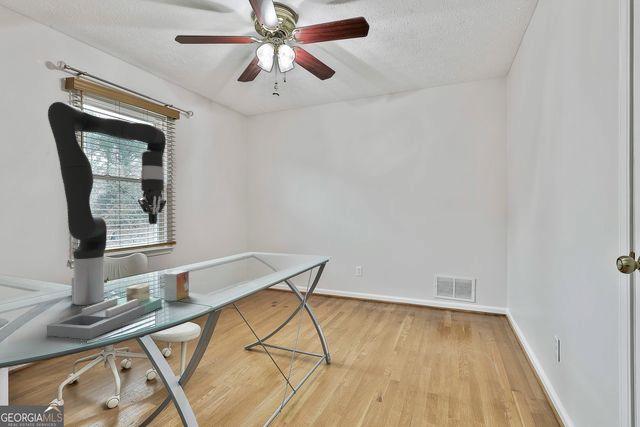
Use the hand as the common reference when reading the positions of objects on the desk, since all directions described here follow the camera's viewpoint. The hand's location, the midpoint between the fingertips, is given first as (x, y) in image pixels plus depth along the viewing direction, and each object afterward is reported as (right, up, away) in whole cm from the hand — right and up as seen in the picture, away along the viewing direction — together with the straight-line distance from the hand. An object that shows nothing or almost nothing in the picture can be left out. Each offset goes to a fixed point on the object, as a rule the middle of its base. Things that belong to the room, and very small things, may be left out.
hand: (152, 223), depth 117 cm
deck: (-3, -30, -18) cm, 36 cm away
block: (-1, -27, -8) cm, 28 cm away
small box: (+7, -30, +5) cm, 31 cm away
